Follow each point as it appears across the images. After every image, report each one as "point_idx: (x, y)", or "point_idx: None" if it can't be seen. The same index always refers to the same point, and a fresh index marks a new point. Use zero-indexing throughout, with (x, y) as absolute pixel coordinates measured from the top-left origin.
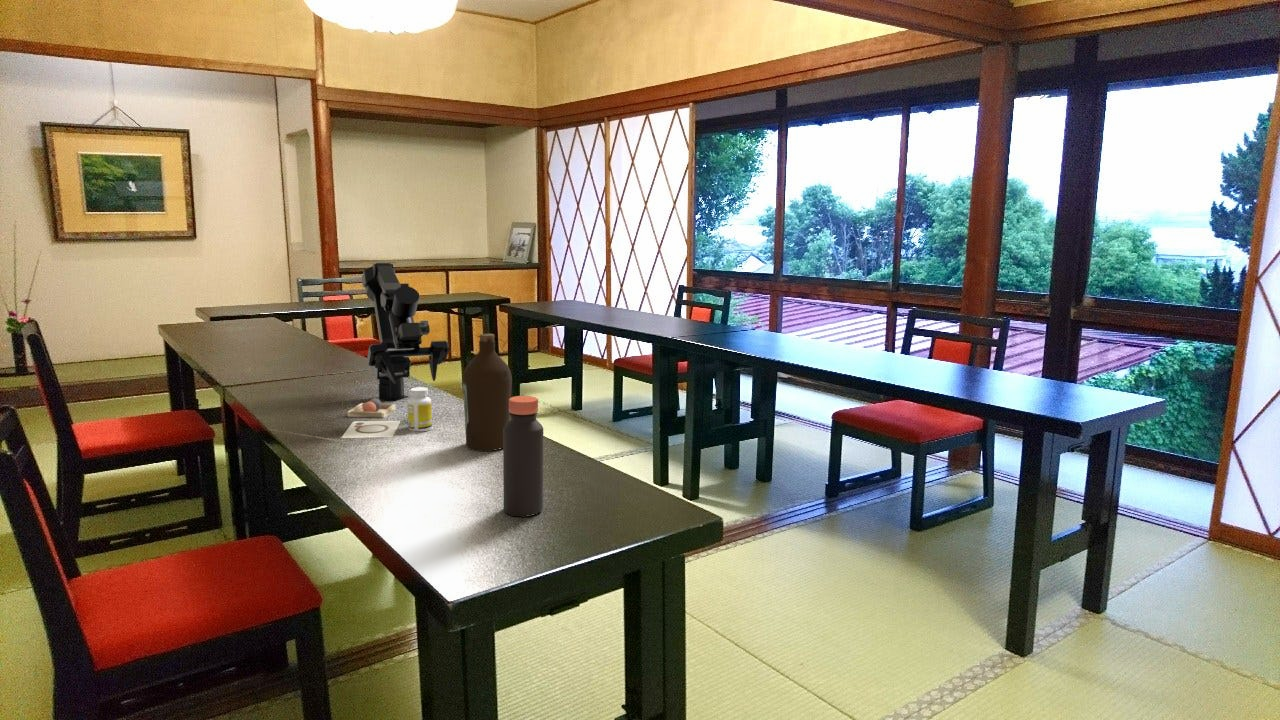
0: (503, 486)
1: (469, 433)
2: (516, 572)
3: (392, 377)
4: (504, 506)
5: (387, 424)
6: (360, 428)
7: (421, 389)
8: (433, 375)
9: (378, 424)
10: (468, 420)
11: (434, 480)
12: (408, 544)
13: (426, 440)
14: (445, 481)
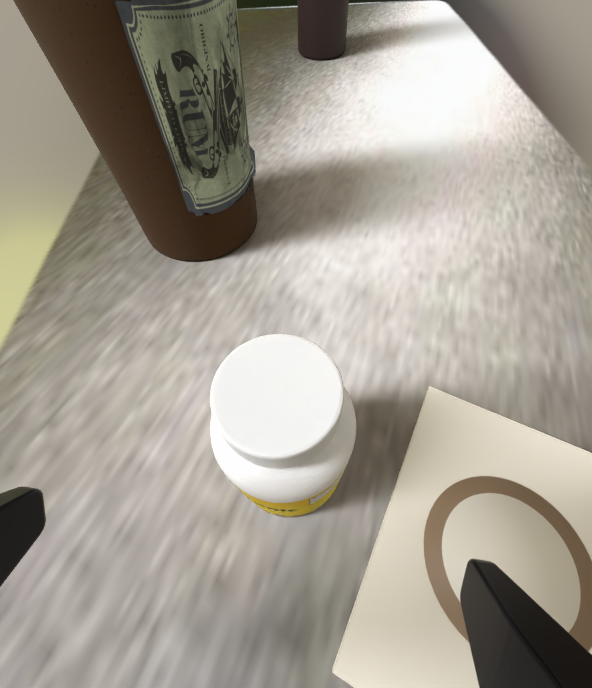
0: (345, 13)
1: (252, 177)
2: (385, 6)
3: (549, 621)
4: (345, 41)
5: (420, 617)
6: (573, 606)
7: (267, 369)
8: (3, 506)
9: (470, 652)
10: (248, 137)
11: (393, 129)
12: (465, 40)
13: (323, 322)
14: (377, 122)
